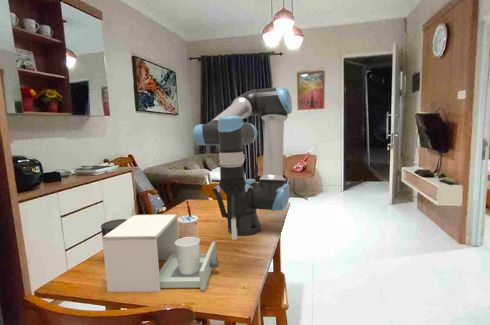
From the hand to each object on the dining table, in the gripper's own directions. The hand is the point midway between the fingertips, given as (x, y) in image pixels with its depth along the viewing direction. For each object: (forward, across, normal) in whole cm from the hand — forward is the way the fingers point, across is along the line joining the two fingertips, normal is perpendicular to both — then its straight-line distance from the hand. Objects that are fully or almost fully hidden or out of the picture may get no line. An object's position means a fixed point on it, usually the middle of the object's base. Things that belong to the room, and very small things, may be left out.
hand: (234, 237), depth 99 cm
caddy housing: (+12, +30, 0) cm, 32 cm away
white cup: (+11, +15, 0) cm, 19 cm away
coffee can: (+12, +45, -12) cm, 48 cm away
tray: (+12, +15, 0) cm, 19 cm away
